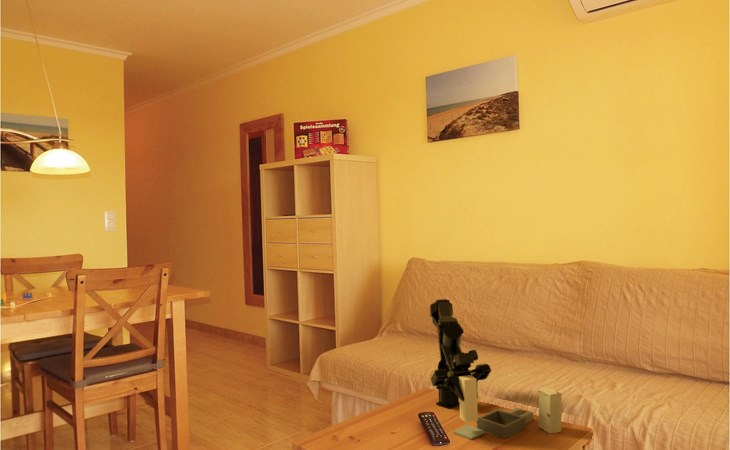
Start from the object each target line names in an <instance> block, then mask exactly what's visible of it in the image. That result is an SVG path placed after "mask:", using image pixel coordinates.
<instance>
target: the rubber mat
mask: <svg viewBox="0 0 730 450" xmlns="http://www.w3.org/2000/svg"><path fill="white" fill-rule="evenodd" d="M452 433H453V434H454V433H455V434H454V435H457V436H459V435H460V437H463V438H465V439H467V440H470V439H471V440H474V439H476V438H477V437H480V436H482V435H484V434H486V433H487V432H486V431H484V430H481V429H478V428H477V427H475V426H472V425H469V424H467V425H464V426H462V427H460V428H457V429H455V430H453V431H452Z"/></svg>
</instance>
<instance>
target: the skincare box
mask: <svg viewBox="0 0 730 450" xmlns="http://www.w3.org/2000/svg"><path fill="white" fill-rule="evenodd" d="M538 427H539V428H540V429H542V430H544V432H546V433H548V434H556V433H560V432H562V393H561V392H559V391H558V390H557V389H553V388H552V387H544V388H543V387H542V388H539V389H538Z"/></svg>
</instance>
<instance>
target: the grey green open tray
mask: <svg viewBox="0 0 730 450" xmlns="http://www.w3.org/2000/svg"><path fill="white" fill-rule="evenodd" d="M532 421H534V411H529V410H527V409H525V408H520V407H515V408H513V409H511V410H509V411H504V410H502V409H498V408H497V409H494V410H492V411H489V412H487V413H484V414H483V415H480V416H478V421H476V425H477V426H476V428H478V429H481V430H484V431H486V433H488V434H490V435H494V436H496V437H498V438H499V437H500V438H503V439H505V440H506V439H508V438H510V437H512V436H514V435H516V434H518V433H520V432H522V431H524V430H526V429H527V428H526V425H527V424H528V423H530V422H532ZM498 422H499V423H498Z"/></svg>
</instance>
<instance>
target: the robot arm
mask: <svg viewBox="0 0 730 450" xmlns="http://www.w3.org/2000/svg"><path fill="white" fill-rule="evenodd" d="M453 315H454V310H453V303H451V302H450V299H448V298H447V299H446V298H445V299H443V298H442V299H436V300H435V301H434V302H433V303H431V304H430V305H429V317H430V318H431V320H432V321H431V322H432V324H433V325H434V327H435V328H436V333H437V340H438V349H439V360H440V361H438V364H437V369H435V370H434V371H433V374H432V375H431V378H430V381H431V384H432V387H435V388H436V390H438V401H437V402H435V404H436V405H437V406H440V407H443V408H447V409H452V408H454V407H457V406H460V400H459V398H460V399H461V400H462V401H464V400H465V399H464V396H463V393H462V390H461V388H460V386H459V377H460V376H467V375H471V376H473V377H474V378H476V383H477V384H478V382H479V381H483V380H486V379H488V377H489V376H490V373H491V372H492V368H491V366H490V365H489V364H488V363H482V364H481V363H480V364H477V365H476V366H475V368H474V369H469V368H471V367H472V364H474V363H475V362H476V361H478V360H479V356H478V352H477V350H476V349H472V350H468V352H462V349H461V343H462V336H463V334H464V333H465V332H464V328H463V327H462V326H461V323H459V321H458V319H457V318H456V317H454V316H453ZM478 396H479V395H478V392H477V399H478Z"/></svg>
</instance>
